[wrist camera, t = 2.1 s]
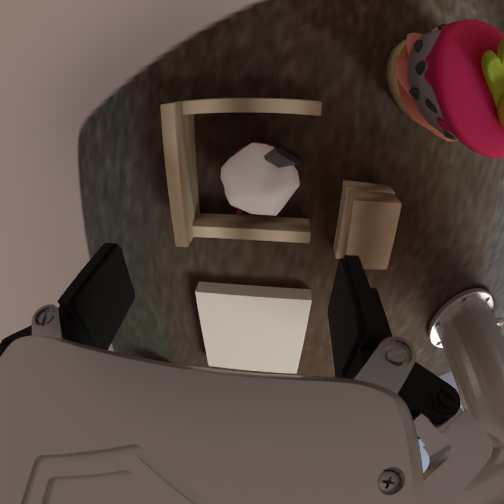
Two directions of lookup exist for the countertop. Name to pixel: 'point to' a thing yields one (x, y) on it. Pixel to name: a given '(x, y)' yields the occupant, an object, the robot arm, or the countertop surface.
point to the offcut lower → (343, 205)
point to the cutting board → (253, 325)
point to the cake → (453, 83)
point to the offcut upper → (370, 227)
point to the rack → (186, 184)
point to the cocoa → (260, 178)
